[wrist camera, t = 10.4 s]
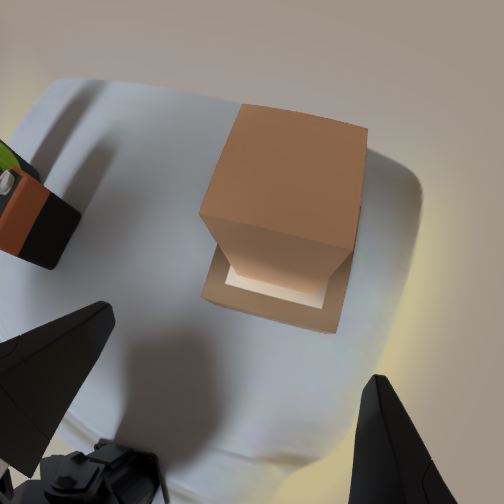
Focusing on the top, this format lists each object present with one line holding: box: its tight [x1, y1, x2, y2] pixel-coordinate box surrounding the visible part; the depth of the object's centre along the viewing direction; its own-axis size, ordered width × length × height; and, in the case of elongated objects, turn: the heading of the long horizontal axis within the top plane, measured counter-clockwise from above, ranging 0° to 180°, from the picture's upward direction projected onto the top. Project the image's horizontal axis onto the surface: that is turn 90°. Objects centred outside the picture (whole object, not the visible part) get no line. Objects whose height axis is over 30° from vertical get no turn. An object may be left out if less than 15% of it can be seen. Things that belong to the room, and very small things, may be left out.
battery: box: [0, 165, 81, 270], centre depth 21 cm, size 4×7×10 cm, turn 153°
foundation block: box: [201, 206, 361, 334], centre depth 21 cm, size 9×9×4 cm
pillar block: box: [199, 104, 368, 295], centre depth 14 cm, size 5×5×10 cm
